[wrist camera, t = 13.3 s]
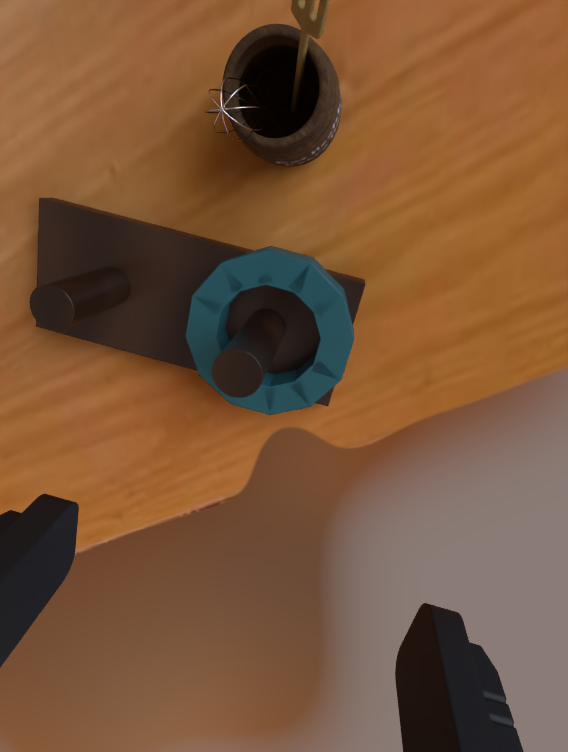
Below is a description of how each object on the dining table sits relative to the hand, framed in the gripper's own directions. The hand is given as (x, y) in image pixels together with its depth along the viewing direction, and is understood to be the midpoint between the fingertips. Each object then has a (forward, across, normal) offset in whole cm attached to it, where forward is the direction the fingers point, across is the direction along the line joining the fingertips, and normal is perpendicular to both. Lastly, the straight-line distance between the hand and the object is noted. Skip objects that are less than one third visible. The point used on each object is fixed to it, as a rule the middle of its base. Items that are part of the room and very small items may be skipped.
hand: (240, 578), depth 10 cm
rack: (+24, +8, +1) cm, 25 cm away
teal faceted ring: (+22, +2, +1) cm, 22 cm away
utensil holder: (+24, +4, -12) cm, 27 cm away
